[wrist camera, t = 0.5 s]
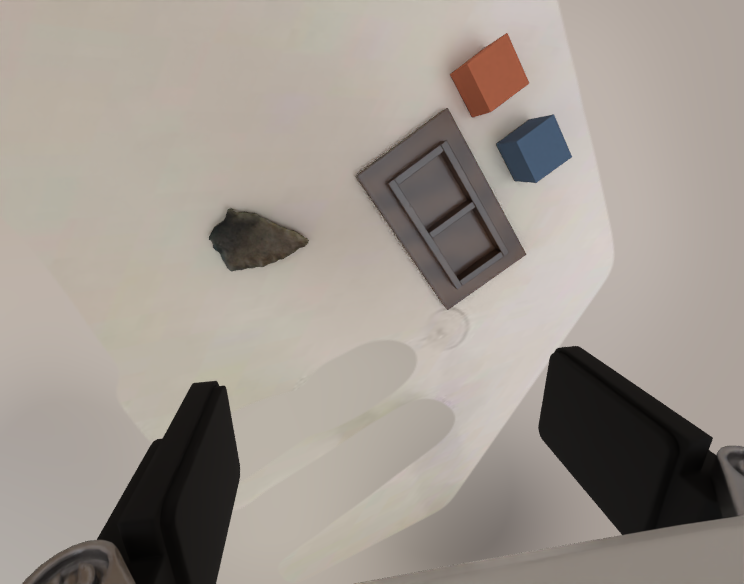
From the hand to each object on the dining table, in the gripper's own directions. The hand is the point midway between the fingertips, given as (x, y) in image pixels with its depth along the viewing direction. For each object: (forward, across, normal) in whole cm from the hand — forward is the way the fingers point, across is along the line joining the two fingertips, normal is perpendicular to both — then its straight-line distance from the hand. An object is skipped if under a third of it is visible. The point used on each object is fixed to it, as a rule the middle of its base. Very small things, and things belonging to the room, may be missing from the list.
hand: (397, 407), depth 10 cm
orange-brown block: (+34, -16, -14) cm, 40 cm away
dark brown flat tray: (+34, -13, 0) cm, 36 cm away
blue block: (+34, -22, -8) cm, 41 cm away
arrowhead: (+34, +8, +1) cm, 35 cm away
